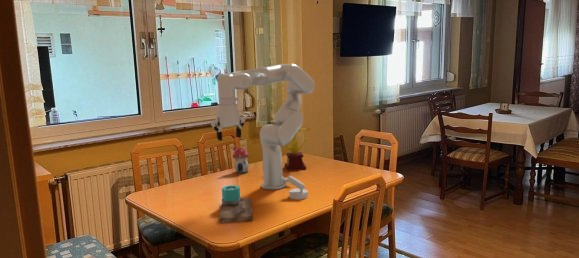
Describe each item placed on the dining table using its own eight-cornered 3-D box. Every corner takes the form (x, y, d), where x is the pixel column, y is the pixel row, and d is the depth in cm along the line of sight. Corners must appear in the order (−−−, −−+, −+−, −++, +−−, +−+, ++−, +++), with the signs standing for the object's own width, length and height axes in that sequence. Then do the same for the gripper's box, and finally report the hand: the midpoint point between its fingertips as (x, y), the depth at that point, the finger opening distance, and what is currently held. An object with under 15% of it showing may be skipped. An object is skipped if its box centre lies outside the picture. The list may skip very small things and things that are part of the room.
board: (251, 202, 203) (250, 184, 202) (252, 220, 181) (251, 200, 179) (222, 204, 202) (221, 185, 201) (220, 222, 180) (218, 202, 178)
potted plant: (276, 169, 259) (274, 117, 254) (292, 163, 271) (291, 114, 266) (295, 172, 250) (293, 119, 245) (312, 166, 262) (310, 115, 257)
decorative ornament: (232, 173, 253) (230, 147, 251) (236, 170, 259) (234, 145, 257) (247, 174, 251) (246, 147, 248) (251, 170, 257) (250, 145, 254)
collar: (234, 195, 201) (234, 184, 201) (242, 198, 196) (242, 187, 195) (220, 198, 197) (219, 187, 196) (228, 202, 192) (227, 191, 191)
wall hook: (292, 173, 214) (310, 175, 209) (293, 192, 215) (311, 195, 210) (282, 177, 207) (301, 180, 201) (283, 197, 208) (301, 200, 203)
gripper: (239, 99, 211) (241, 135, 213) (206, 102, 201) (208, 140, 204) (247, 100, 205) (249, 137, 207) (213, 104, 195) (216, 142, 198)
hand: (229, 138), depth 206 cm, fingers open, 9 cm apart
